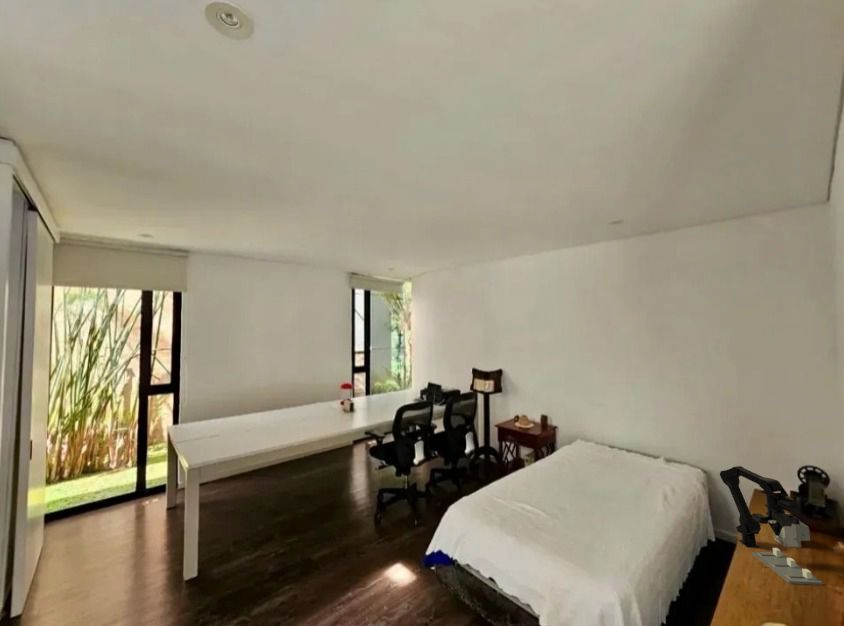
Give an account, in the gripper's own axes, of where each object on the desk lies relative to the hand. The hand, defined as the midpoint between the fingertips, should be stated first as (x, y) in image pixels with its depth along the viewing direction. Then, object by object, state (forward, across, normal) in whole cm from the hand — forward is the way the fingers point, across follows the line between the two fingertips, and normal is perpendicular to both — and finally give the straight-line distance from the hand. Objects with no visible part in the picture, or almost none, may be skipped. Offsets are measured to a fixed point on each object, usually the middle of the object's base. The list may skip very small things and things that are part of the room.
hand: (777, 535), depth 194 cm
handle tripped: (+12, +1, -15) cm, 19 cm away
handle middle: (+12, +1, -6) cm, 13 cm away
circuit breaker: (+13, +20, +18) cm, 30 cm away
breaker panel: (+13, -2, -6) cm, 14 cm away
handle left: (+12, +1, +3) cm, 12 cm away
